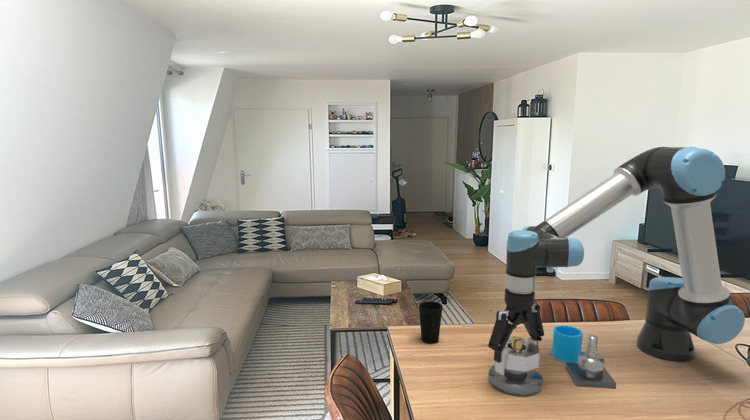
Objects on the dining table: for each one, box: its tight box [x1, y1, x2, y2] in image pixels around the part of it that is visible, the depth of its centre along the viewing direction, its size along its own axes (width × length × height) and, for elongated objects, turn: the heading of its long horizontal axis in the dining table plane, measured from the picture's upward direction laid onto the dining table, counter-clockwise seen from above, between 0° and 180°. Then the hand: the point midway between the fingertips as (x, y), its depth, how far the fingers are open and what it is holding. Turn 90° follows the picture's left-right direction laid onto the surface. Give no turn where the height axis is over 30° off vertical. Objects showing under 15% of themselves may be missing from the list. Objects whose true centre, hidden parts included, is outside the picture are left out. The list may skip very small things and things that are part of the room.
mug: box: [551, 324, 584, 363], centre depth 138 cm, size 12×8×8 cm
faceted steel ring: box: [494, 336, 540, 372], centre depth 121 cm, size 11×11×4 cm
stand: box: [565, 334, 617, 389], centre depth 124 cm, size 10×10×12 cm
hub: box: [487, 336, 544, 398], centre depth 121 cm, size 14×14×12 cm
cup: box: [418, 300, 443, 345], centre depth 147 cm, size 8×8×12 cm
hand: (515, 366), depth 121 cm, fingers closed on faceted steel ring, 11 cm apart
